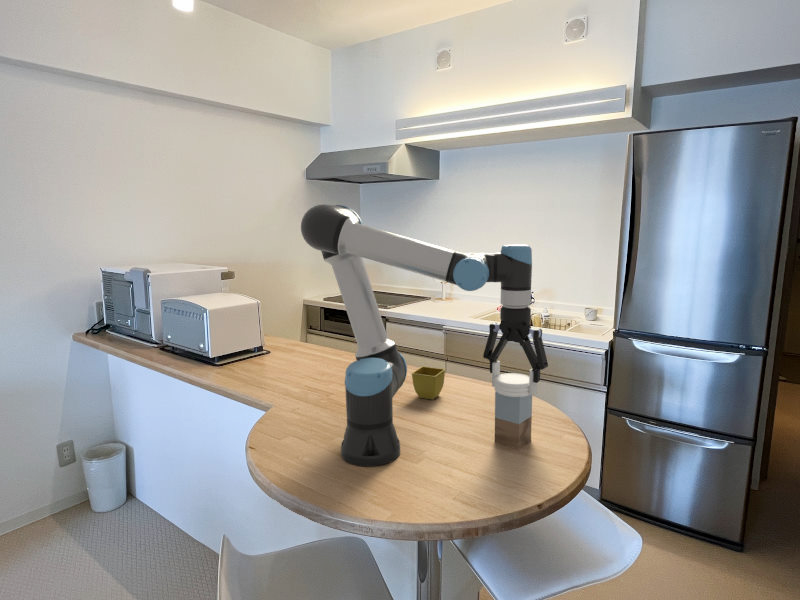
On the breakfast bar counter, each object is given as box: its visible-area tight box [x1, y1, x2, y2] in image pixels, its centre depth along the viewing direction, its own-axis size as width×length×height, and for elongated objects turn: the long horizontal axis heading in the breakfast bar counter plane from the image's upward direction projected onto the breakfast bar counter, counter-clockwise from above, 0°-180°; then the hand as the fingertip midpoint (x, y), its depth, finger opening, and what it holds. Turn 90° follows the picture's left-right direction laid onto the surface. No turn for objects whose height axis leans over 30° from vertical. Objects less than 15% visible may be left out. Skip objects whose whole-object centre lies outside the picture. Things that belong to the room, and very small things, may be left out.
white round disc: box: [494, 372, 529, 397], centre depth 126 cm, size 10×10×4 cm
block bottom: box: [494, 415, 533, 451], centre depth 128 cm, size 7×7×7 cm
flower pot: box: [411, 366, 446, 400], centre depth 162 cm, size 9×9×9 cm
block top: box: [494, 391, 533, 424], centre depth 127 cm, size 7×7×7 cm
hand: (513, 389), depth 127 cm, fingers closed on white round disc, 10 cm apart
